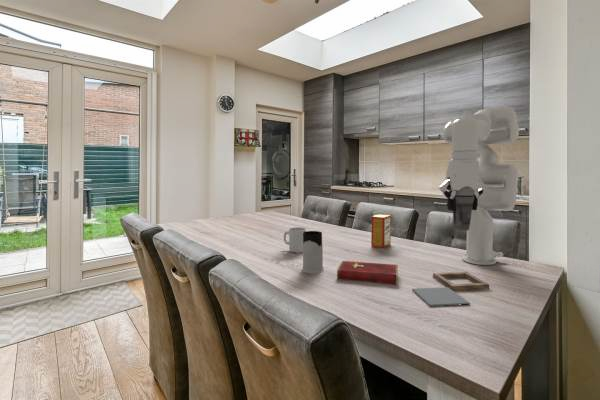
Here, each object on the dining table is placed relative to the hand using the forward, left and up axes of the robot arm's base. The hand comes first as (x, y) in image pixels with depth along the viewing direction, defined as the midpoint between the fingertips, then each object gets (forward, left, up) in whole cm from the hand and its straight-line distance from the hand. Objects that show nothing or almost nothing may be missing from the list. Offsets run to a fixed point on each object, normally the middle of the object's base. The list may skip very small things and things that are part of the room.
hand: (462, 209), depth 105 cm
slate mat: (+13, +11, -26) cm, 31 cm away
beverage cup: (0, 0, -7) cm, 7 cm away
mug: (+55, -50, -26) cm, 79 cm away
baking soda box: (+10, -54, -26) cm, 61 cm away
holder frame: (0, 0, -26) cm, 26 cm away
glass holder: (+48, -22, -26) cm, 59 cm away
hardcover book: (+30, -10, -26) cm, 41 cm away
